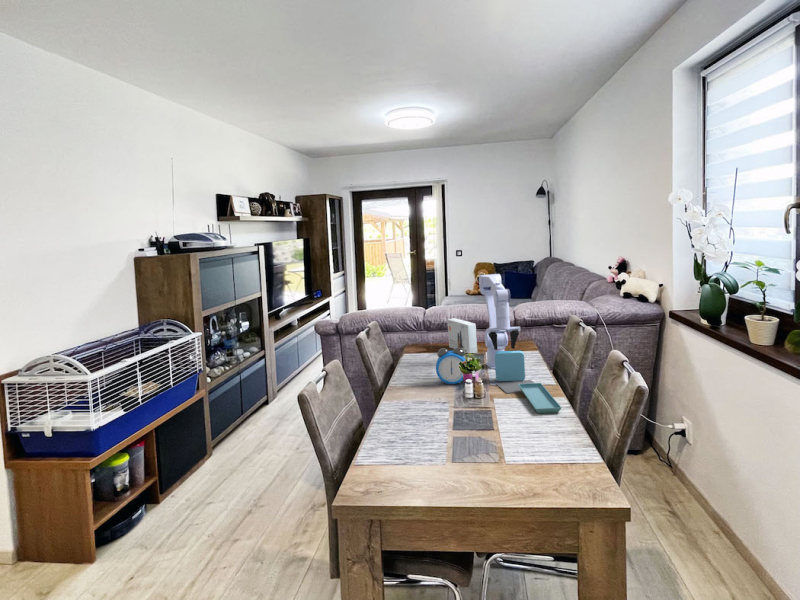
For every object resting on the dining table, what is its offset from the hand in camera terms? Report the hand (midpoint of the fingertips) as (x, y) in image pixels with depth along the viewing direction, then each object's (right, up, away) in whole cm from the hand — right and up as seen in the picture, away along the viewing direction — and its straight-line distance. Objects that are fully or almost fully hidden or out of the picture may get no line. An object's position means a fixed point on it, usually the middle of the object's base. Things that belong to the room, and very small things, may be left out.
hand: (504, 349), depth 223 cm
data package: (+2, -13, -4) cm, 14 cm away
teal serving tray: (+6, -16, -32) cm, 36 cm away
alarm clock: (-23, -14, -3) cm, 27 cm away
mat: (+3, -14, -14) cm, 20 cm away
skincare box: (-12, -6, +53) cm, 55 cm away
